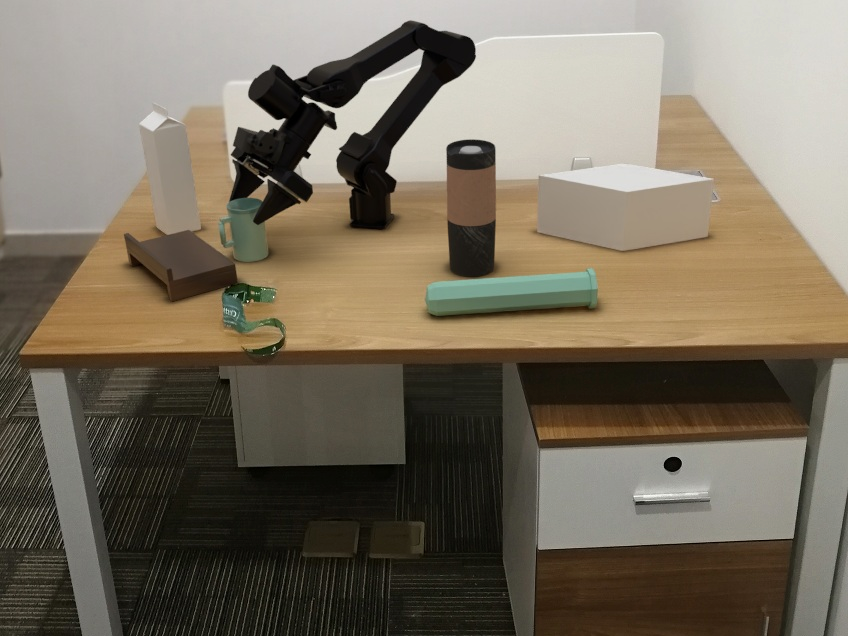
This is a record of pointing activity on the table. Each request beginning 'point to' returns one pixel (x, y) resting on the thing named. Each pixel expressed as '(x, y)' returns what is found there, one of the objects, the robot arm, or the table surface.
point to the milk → (169, 172)
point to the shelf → (182, 263)
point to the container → (512, 293)
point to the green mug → (244, 230)
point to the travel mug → (471, 206)
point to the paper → (624, 206)
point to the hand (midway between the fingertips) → (242, 215)
